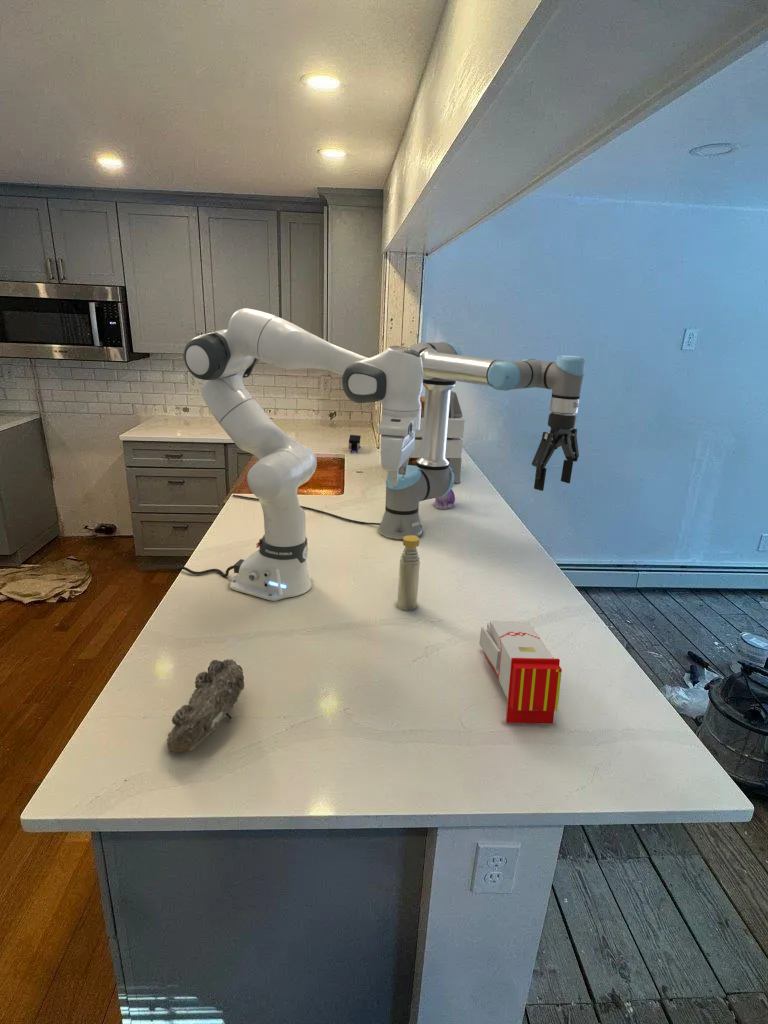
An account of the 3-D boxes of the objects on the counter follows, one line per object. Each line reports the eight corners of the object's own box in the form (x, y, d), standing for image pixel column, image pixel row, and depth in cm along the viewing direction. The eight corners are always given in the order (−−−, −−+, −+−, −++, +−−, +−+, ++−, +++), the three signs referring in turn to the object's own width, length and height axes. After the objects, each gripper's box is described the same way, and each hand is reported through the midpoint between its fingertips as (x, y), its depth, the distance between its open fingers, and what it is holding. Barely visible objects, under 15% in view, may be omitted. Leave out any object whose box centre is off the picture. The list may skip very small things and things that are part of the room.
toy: (526, 605, 135) (570, 665, 105) (521, 658, 137) (563, 730, 108) (475, 604, 134) (506, 664, 105) (472, 657, 137) (500, 729, 108)
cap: (417, 548, 144) (417, 542, 143) (401, 546, 145) (401, 540, 144) (420, 542, 148) (420, 536, 147) (404, 540, 148) (404, 534, 148)
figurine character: (360, 456, 306) (360, 446, 319) (360, 443, 303) (361, 433, 316) (347, 455, 306) (348, 446, 319) (348, 442, 302) (349, 433, 316)
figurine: (441, 511, 224) (444, 474, 219) (427, 503, 232) (430, 467, 227) (461, 508, 228) (464, 472, 223) (447, 500, 237) (450, 465, 232)
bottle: (414, 611, 149) (419, 544, 143) (395, 608, 150) (399, 542, 144) (418, 602, 154) (422, 537, 147) (399, 599, 155) (403, 534, 148)
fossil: (192, 660, 117) (244, 628, 112) (224, 691, 120) (276, 661, 115) (142, 746, 98) (202, 712, 93) (182, 779, 101) (242, 748, 96)
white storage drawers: (382, 463, 289) (386, 382, 275) (445, 464, 293) (451, 384, 279) (390, 482, 257) (394, 392, 243) (460, 483, 261) (468, 394, 247)
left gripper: (397, 412, 139) (394, 467, 144) (376, 428, 120) (374, 490, 125) (422, 414, 138) (419, 469, 142) (405, 430, 119) (402, 493, 124)
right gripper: (548, 419, 148) (537, 496, 155) (598, 411, 163) (586, 482, 171) (525, 414, 153) (515, 489, 160) (575, 407, 169) (564, 476, 176)
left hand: (398, 479), depth 133 cm, fingers open, 8 cm apart
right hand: (552, 485), depth 166 cm, fingers open, 13 cm apart
